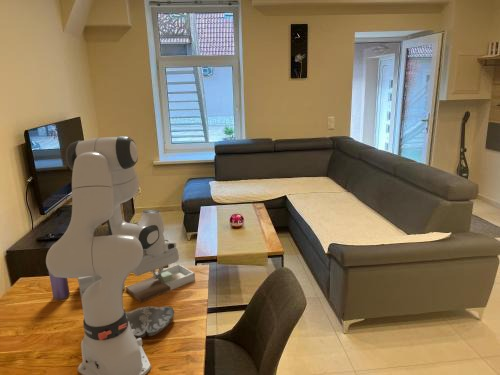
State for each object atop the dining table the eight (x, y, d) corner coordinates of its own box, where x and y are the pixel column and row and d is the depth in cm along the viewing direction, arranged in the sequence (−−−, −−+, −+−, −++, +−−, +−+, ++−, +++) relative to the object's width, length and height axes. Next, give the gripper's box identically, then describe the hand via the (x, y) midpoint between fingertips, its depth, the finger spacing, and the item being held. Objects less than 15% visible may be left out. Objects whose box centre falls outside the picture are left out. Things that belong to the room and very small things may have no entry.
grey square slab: (170, 290, 153) (170, 286, 153) (140, 302, 145) (140, 298, 144) (155, 279, 162) (154, 276, 162) (126, 290, 154) (126, 286, 154)
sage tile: (173, 279, 161) (172, 274, 161) (163, 282, 158) (163, 277, 158) (167, 276, 164) (167, 270, 164) (158, 279, 161) (158, 273, 161)
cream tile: (186, 281, 159) (185, 276, 159) (177, 284, 156) (176, 279, 156) (180, 277, 163) (180, 272, 162) (171, 281, 160) (171, 276, 159)
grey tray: (194, 280, 161) (194, 272, 160) (170, 290, 153) (169, 282, 152) (179, 270, 170) (178, 263, 169) (155, 279, 162) (154, 272, 161)
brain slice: (115, 348, 119) (114, 340, 119) (118, 318, 135) (117, 311, 134) (177, 336, 124) (176, 328, 124) (173, 309, 140) (173, 302, 139)
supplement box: (121, 276, 167) (119, 257, 164) (125, 289, 155) (122, 269, 153) (80, 285, 160) (77, 265, 157) (80, 300, 148) (77, 278, 146)
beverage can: (65, 300, 148) (59, 265, 144) (50, 300, 148) (44, 266, 144) (72, 292, 153) (67, 259, 150) (58, 293, 154) (52, 259, 150)
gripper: (134, 257, 146) (138, 289, 150) (179, 242, 159) (181, 271, 163) (127, 252, 151) (131, 283, 154) (171, 238, 164) (174, 267, 167)
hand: (157, 277), depth 159 cm, fingers closed
